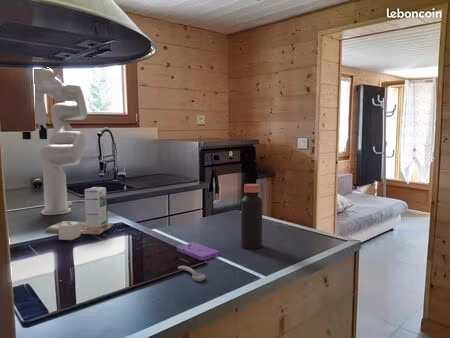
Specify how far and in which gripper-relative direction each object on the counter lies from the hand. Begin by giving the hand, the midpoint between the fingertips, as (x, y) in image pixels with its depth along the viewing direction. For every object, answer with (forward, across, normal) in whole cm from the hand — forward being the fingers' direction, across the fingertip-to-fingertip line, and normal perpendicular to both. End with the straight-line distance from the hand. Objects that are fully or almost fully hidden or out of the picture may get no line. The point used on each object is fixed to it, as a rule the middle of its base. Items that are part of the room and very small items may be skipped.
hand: (35, 139), depth 142 cm
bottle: (+34, +18, +88) cm, 96 cm away
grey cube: (+34, +17, +24) cm, 45 cm away
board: (+34, +6, +22) cm, 41 cm away
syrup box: (+33, +6, +28) cm, 44 cm away
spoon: (+35, +43, +74) cm, 93 cm away
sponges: (+35, +27, +72) cm, 85 cm away
